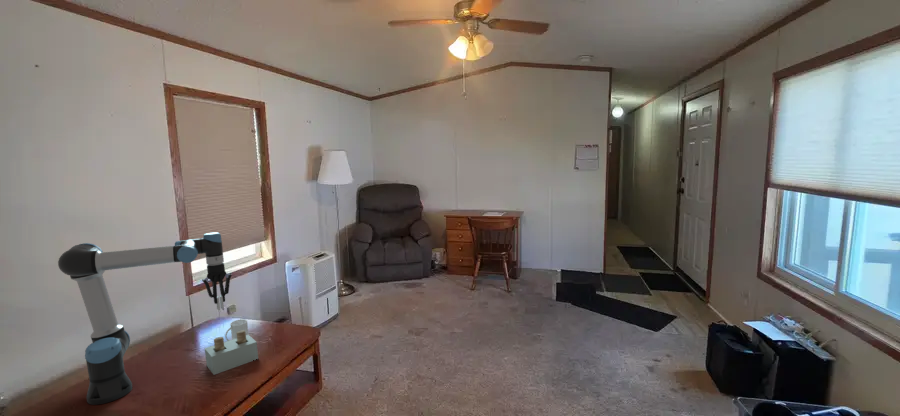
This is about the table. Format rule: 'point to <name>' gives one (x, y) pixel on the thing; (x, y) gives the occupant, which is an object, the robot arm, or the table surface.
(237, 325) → the mug
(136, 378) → the table surface
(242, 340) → the peg far
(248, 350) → the socket block
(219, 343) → the peg near
